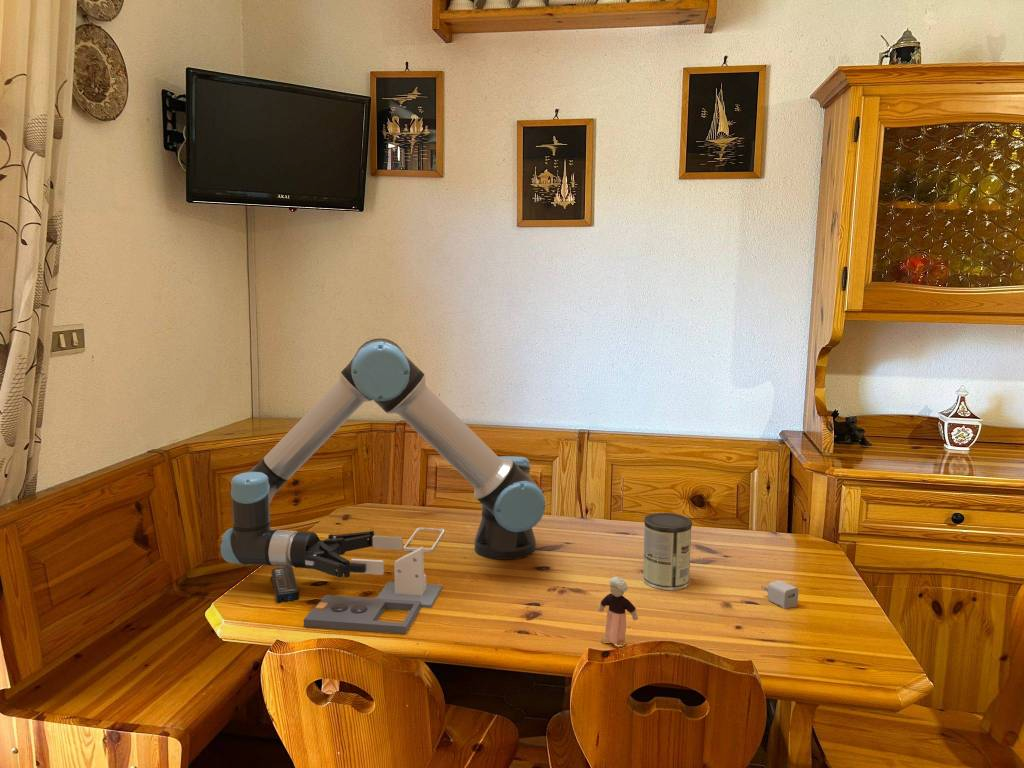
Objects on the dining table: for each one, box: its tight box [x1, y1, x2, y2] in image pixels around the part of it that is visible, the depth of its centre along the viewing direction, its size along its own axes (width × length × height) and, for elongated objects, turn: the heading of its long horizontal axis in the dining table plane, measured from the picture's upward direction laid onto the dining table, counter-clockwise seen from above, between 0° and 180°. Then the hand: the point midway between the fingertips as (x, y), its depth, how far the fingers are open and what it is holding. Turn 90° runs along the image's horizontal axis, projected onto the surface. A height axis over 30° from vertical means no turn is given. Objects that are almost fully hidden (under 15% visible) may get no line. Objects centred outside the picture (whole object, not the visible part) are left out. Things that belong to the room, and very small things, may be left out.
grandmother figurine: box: [597, 576, 639, 648], centre depth 132 cm, size 8×4×13 cm, turn 69°
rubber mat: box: [376, 580, 444, 609], centre depth 152 cm, size 12×10×1 cm
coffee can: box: [642, 512, 693, 591], centre depth 160 cm, size 10×10×14 cm
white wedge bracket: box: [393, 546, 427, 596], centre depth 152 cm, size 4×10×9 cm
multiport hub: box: [271, 566, 300, 604], centre depth 155 cm, size 4×14×2 cm, turn 22°
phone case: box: [403, 527, 445, 553], centre depth 184 cm, size 7×1×15 cm
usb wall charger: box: [761, 580, 800, 610], centre depth 151 cm, size 4×7×4 cm, turn 28°
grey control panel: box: [303, 594, 422, 635], centre depth 142 cm, size 20×11×2 cm, turn 82°
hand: (393, 555), depth 151 cm, fingers open, 13 cm apart
